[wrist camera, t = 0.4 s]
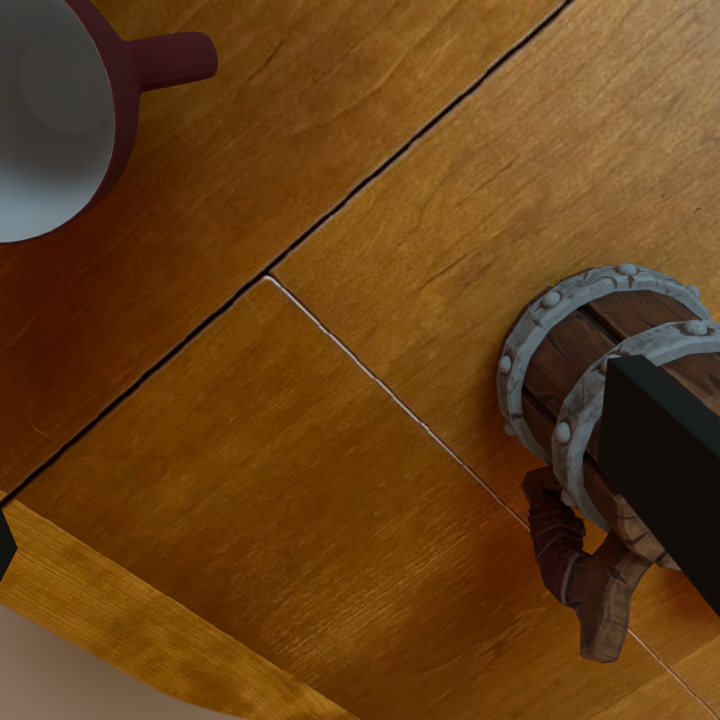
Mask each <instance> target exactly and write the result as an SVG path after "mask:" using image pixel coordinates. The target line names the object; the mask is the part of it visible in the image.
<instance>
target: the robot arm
mask: <svg viewBox="0 0 720 720" xmlns="http://www.w3.org/2000/svg"><path fill="white" fill-rule="evenodd" d="M597 465H598V467H599V468H600V469H601V470H602V472H603V473H604V474H605V475H606V477H607V478H608V479H609V480H610V482H611V483H612V484H613V485H614V487H615V488H616V489H617V490H618V492H619V493H620V494H621V495H622V497H623V498H624V499H625V500H626V502H627V503H628V504H629V505H630V507H631V508H632V509H633V510H634V512H635V513H636V514H637V515H638V517H639V518H640V519H641V520H642V522H643V523H644V524H645V525H646V527H647V528H648V529H649V530H650V532H651V533H652V534H653V535H654V537H655V538H656V539H657V540H658V542H659V543H660V544H661V545H662V547H663V548H664V549H665V550H666V552H667V553H668V554H669V555H670V557H671V558H672V559H673V560H674V562H675V563H676V564H677V565H678V567H679V568H680V569H681V570H682V572H683V573H684V574H685V575H686V577H687V578H688V579H689V580H690V582H691V583H692V584H693V585H694V587H695V588H696V589H697V590H698V592H699V593H700V594H701V595H702V596H703V598H704V599H705V600H706V601H707V603H708V604H709V605H710V606H711V608H712V609H713V610H714V611H715V613H716V614H717V615H718V616H719V618H720V417H719V416H718V415H717V414H716V413H714V412H713V411H712V410H711V409H709V408H708V407H707V406H706V405H704V404H703V403H702V402H701V401H699V400H698V399H697V398H696V397H694V396H693V395H692V394H691V393H689V392H688V391H687V390H686V389H684V388H683V387H682V386H681V385H679V384H678V383H677V382H676V381H674V380H673V379H672V378H671V377H669V376H668V375H667V374H666V373H664V372H663V371H662V370H661V369H659V368H658V367H657V366H656V365H654V364H653V363H652V362H651V361H649V360H648V359H647V358H646V357H644V356H643V355H642V354H638V355H631V356H623V357H616V358H608V359H607V367H606V377H605V387H604V397H603V407H602V416H601V426H600V436H599V446H598V456H597ZM17 549H18V548H17V546H16V543H15V541H14V538H13V536H12V533H11V531H10V529H9V526H8V524H7V521H6V519H5V516H4V514H3V512H2V509H1V507H0V582H1V580H2V578H3V576H4V574H5V572H6V570H7V568H8V566H9V564H10V562H11V560H12V558H13V556H14V554H15V552H16V551H17Z"/></svg>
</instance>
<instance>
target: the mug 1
mask: <svg viewBox="0 0 720 720" xmlns="http://www.w3.org/2000/svg"><path fill="white" fill-rule="evenodd" d="M217 68H218V59H217V53H216V50H215V47H214V44H213V42H212V41H211V39H210V38H209V36H207V35H206V34H204V33H203V32H183V33H175V34H168V35H161V36H155V37H149V38H144V39H138V40H133V41H124V40H122V39H121V38H120V37H119V36H118V34H117V33H116V32H115V31H114V29H113V28H112V27H111V26H110V24H109V23H108V22H107V21H106V19H105V18H104V17H103V16H102V14H101V13H100V12H99V11H98V10H97V9H96V8H95V6H94V5H93V4H92V3H91V2H90V1H89V0H0V245H9V244H18V243H23V242H28V241H32V240H35V239H39V238H42V237H44V236H47V235H50V234H52V233H54V232H56V231H58V230H60V229H62V228H64V227H65V226H67V225H68V224H70V223H71V222H73V221H74V220H76V219H77V218H79V217H80V216H82V215H83V214H85V213H86V212H87V211H88V210H90V209H91V208H92V207H93V206H94V205H96V204H97V203H98V202H99V201H100V200H101V199H102V198H103V197H104V196H105V195H106V194H107V193H108V192H109V191H110V189H111V188H112V187H113V185H114V184H115V183H116V181H117V180H118V179H119V177H120V175H121V173H122V172H123V170H124V168H125V166H126V164H127V162H128V159H129V157H130V154H131V151H132V148H133V145H134V141H135V136H136V131H137V123H138V113H139V100H140V95H141V93H143V92H146V91H150V90H155V89H160V88H166V87H170V86H175V85H180V84H185V83H190V82H195V81H200V80H204V79H208V78H211V77H213V76H214V75H215V73H216V72H217Z"/></svg>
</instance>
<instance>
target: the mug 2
mask: <svg viewBox="0 0 720 720" xmlns="http://www.w3.org/2000/svg"><path fill="white" fill-rule="evenodd" d="M699 298H700V291H699V289H698V288H697V287H695V286H692V285H688V286H683V285H682V284H681V283H679V282H678V281H677V280H675V279H674V278H673V277H671V276H669V275H666V274H663V273H660V272H657V271H654V270H651V269H648V268H645V267H642V266H640V265H633V264H630V263H623V264H621V265H620V266H607V267H598V268H588V269H585V270H583V271H580V272H578V273H575V274H573V275H570V276H568V277H565V278H563V279H561V282H560V283H559V284H558V285H557V286H556V287H554V288H553V287H551V286H549V287H547V288H546V289H545V290H544V291H543V292H541V293H540V294H539V295H538V296H536V297H535V298H534V299H533V300H531V301H530V302H529V303H528V304H526V305H525V307H524V308H523V310H522V311H521V313H520V314H519V316H518V317H517V319H516V320H515V322H514V323H513V325H512V326H511V328H510V329H509V331H508V332H507V334H506V336H505V339H504V343H503V347H502V350H501V354H500V357H499V363H498V366H499V367H498V371H497V375H496V383H497V392H498V402H499V410H500V411H501V413H502V415H503V416H504V418H505V420H506V423H505V424H504V430H505V432H506V433H507V434H508V435H510V436H515V437H516V438H517V439H518V440H519V441H520V442H521V444H522V445H523V446H524V447H525V448H526V449H528V450H529V451H530V452H532V453H533V454H535V455H536V456H537V457H539V458H540V459H542V460H543V461H544V462H546V463H547V464H549V465H550V466H546V467H543V468H539V469H535V470H532V471H528V472H527V473H526V476H525V478H524V480H523V482H522V484H521V488H522V490H523V492H524V494H525V496H526V498H527V500H528V503H529V505H530V509H529V513H530V516H528V521H529V524H530V533H531V538H532V539H533V541H534V551H535V557H536V562H537V564H538V565H539V567H540V571H541V576H542V580H543V582H544V585H545V587H546V588H547V589H548V590H549V591H550V592H551V593H552V594H553V595H554V596H555V597H556V599H557V600H558V601H559V602H560V603H561V604H563V605H565V606H568V607H570V608H573V609H574V610H575V612H576V614H577V616H578V619H579V621H580V623H581V627H580V655H581V656H582V657H583V658H586V659H589V660H593V661H596V662H599V663H611V662H615V661H616V660H617V659H618V658H619V655H620V652H621V649H622V646H623V643H624V640H625V637H626V634H627V631H628V627H629V616H630V605H631V596H632V594H633V592H634V590H635V588H636V586H637V584H638V583H639V581H640V579H641V577H642V575H643V574H644V573H645V572H646V571H647V570H648V569H649V568H650V567H651V565H652V564H653V563H654V562H655V563H656V564H657V565H658V566H659V567H661V568H666V569H671V570H676V571H680V572H682V570H681V569H680V568H679V567H678V565H677V564H676V563H675V562H674V560H673V559H672V558H671V557H670V555H669V554H668V553H667V552H666V550H665V549H664V548H663V547H662V545H661V544H660V543H659V542H658V540H657V539H656V538H655V537H654V535H653V534H652V533H651V532H650V530H649V529H648V528H647V527H646V525H645V524H644V523H643V522H642V520H641V519H640V518H639V517H638V515H637V514H636V513H635V512H634V510H633V509H632V508H631V507H630V505H629V504H628V503H627V502H626V500H625V499H624V498H623V497H622V495H621V494H620V493H619V492H618V490H617V489H616V488H615V487H614V485H613V484H612V483H611V482H610V480H609V479H608V478H607V477H606V475H605V474H604V473H603V472H602V470H601V469H600V468H599V467H598V465H597V456H598V446H599V436H600V426H601V416H602V407H603V397H604V387H605V377H606V367H607V359H608V358H616V357H623V356H631V355H638V354H642V355H643V356H644V357H646V358H647V359H648V360H649V361H651V362H652V363H653V364H654V365H656V366H657V367H658V368H659V369H661V370H662V371H663V372H664V373H666V374H667V375H668V376H669V377H671V378H672V379H673V380H674V381H676V382H677V383H678V384H679V385H681V386H682V387H683V388H684V389H686V390H687V391H688V392H689V393H691V394H692V395H693V396H694V397H696V398H697V399H698V400H699V401H701V402H702V403H703V404H704V405H706V406H707V407H708V408H709V409H711V410H712V411H713V412H714V413H716V414H717V415H718V416H719V417H720V323H717V322H714V321H712V318H711V316H710V313H709V310H708V309H707V308H706V307H705V306H704V305H703V304H702V303H701V302H700V301H699V300H698V299H699ZM560 499H562V500H560ZM570 506H571V507H576V508H577V509H578V510H579V512H580V513H581V514H582V515H583V516H584V517H585V518H587V519H588V520H590V521H591V522H593V523H594V524H596V525H597V526H599V527H600V528H601V529H603V530H604V531H606V532H607V533H608V535H607V537H606V538H605V540H604V542H603V543H602V544H601V546H600V547H599V548H598V549H597V550H596V551H595V552H594V553H593V554H592V555H590V554H589V553H587V552H585V551H583V549H582V548H583V547H584V545H583V539H582V538H583V537H585V536H586V532H585V527H584V522H583V519H580V518H578V517H576V516H575V514H574V512H573V510H572V509H571V508H570Z"/></svg>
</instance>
